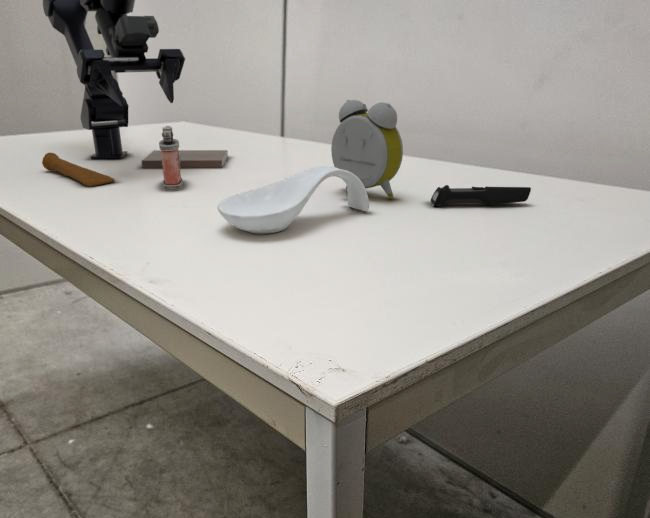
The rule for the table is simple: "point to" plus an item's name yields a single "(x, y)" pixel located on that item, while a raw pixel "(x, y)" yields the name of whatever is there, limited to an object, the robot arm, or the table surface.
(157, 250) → the table surface
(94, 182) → the primitive tool
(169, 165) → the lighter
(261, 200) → the spoon rest
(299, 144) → the table surface
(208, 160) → the board
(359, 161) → the alarm clock
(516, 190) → the electric trimmer
